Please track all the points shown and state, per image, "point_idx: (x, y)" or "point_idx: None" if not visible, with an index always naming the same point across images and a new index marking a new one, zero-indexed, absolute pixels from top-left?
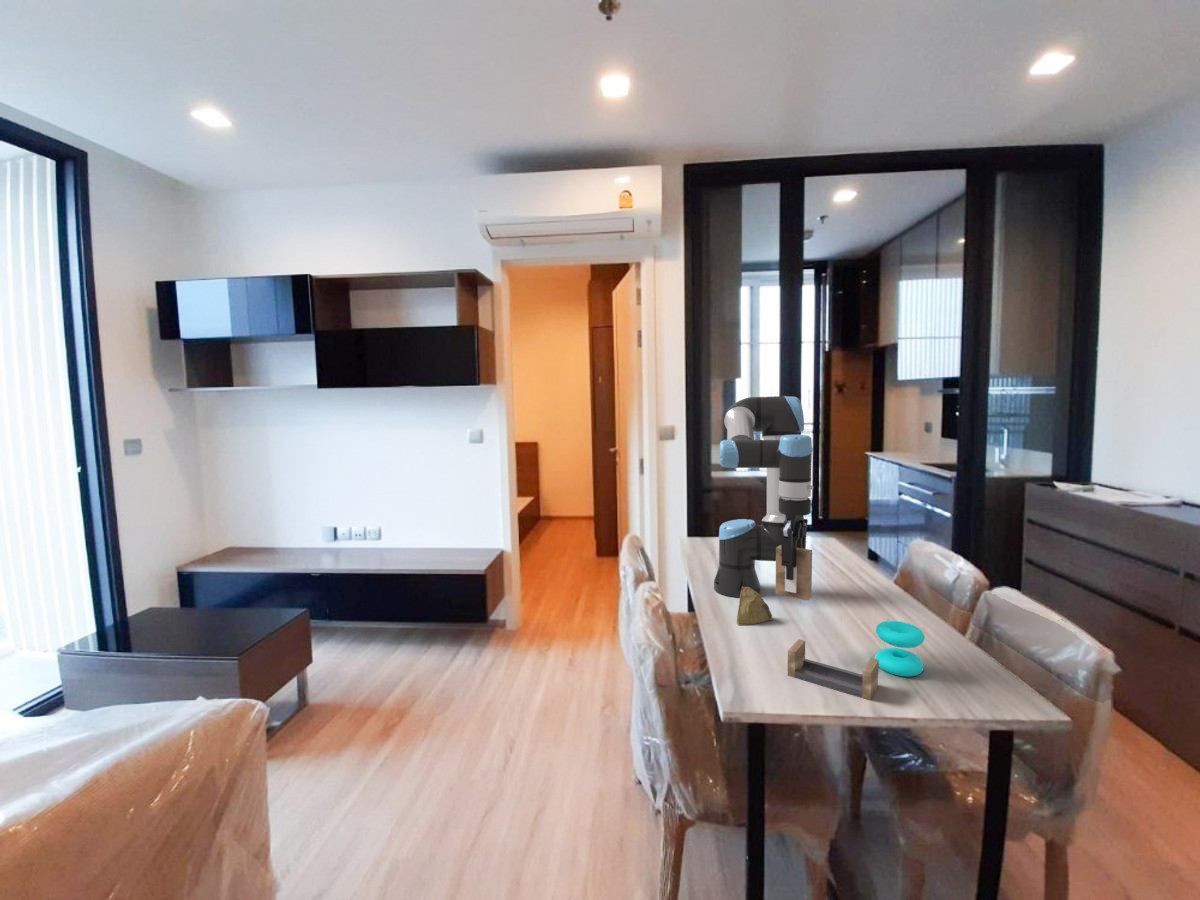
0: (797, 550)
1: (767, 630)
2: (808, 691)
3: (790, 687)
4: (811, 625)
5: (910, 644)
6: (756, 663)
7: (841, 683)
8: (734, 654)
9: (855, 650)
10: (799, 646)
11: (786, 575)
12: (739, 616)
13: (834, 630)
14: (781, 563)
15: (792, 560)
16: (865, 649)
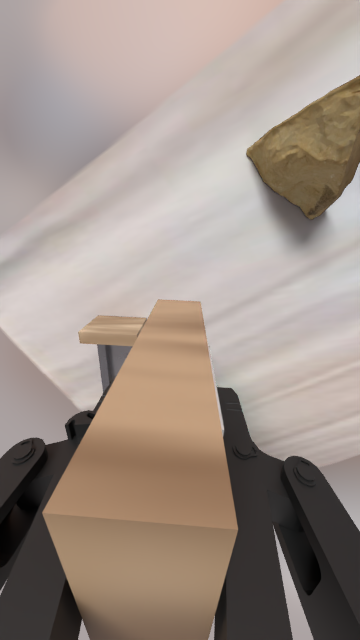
0: (110, 632)
1: (248, 229)
2: (78, 348)
3: (70, 327)
4: (311, 299)
5: None
6: (100, 261)
7: (106, 383)
8: (104, 211)
9: (235, 374)
10: (108, 343)
11: (103, 395)
12: (260, 142)
13: (302, 337)
14: (66, 425)
15: (19, 533)
16: (245, 384)
